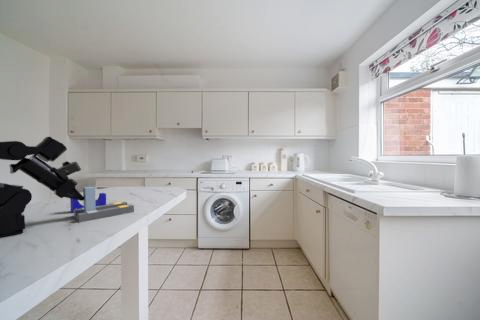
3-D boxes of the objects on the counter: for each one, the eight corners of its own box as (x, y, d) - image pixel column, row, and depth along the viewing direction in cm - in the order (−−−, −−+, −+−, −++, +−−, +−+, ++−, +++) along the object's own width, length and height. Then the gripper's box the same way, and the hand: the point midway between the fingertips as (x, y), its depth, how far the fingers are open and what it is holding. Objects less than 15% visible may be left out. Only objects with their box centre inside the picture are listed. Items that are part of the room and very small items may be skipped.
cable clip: (101, 205, 99) (101, 192, 99) (106, 207, 96) (105, 193, 96) (69, 211, 89) (69, 197, 89) (73, 213, 87) (73, 198, 86)
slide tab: (86, 215, 79) (85, 188, 79) (83, 213, 82) (83, 187, 81) (95, 213, 81) (95, 187, 81) (93, 211, 84) (92, 186, 84)
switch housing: (79, 222, 75) (79, 214, 75) (73, 216, 82) (73, 209, 82) (134, 211, 88) (133, 205, 88) (125, 207, 95) (125, 201, 95)
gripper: (68, 154, 69) (108, 185, 78) (58, 153, 82) (94, 180, 91) (35, 182, 64) (82, 211, 72) (30, 176, 77) (71, 202, 85)
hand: (83, 199), depth 80 cm, fingers closed, pressing on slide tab
